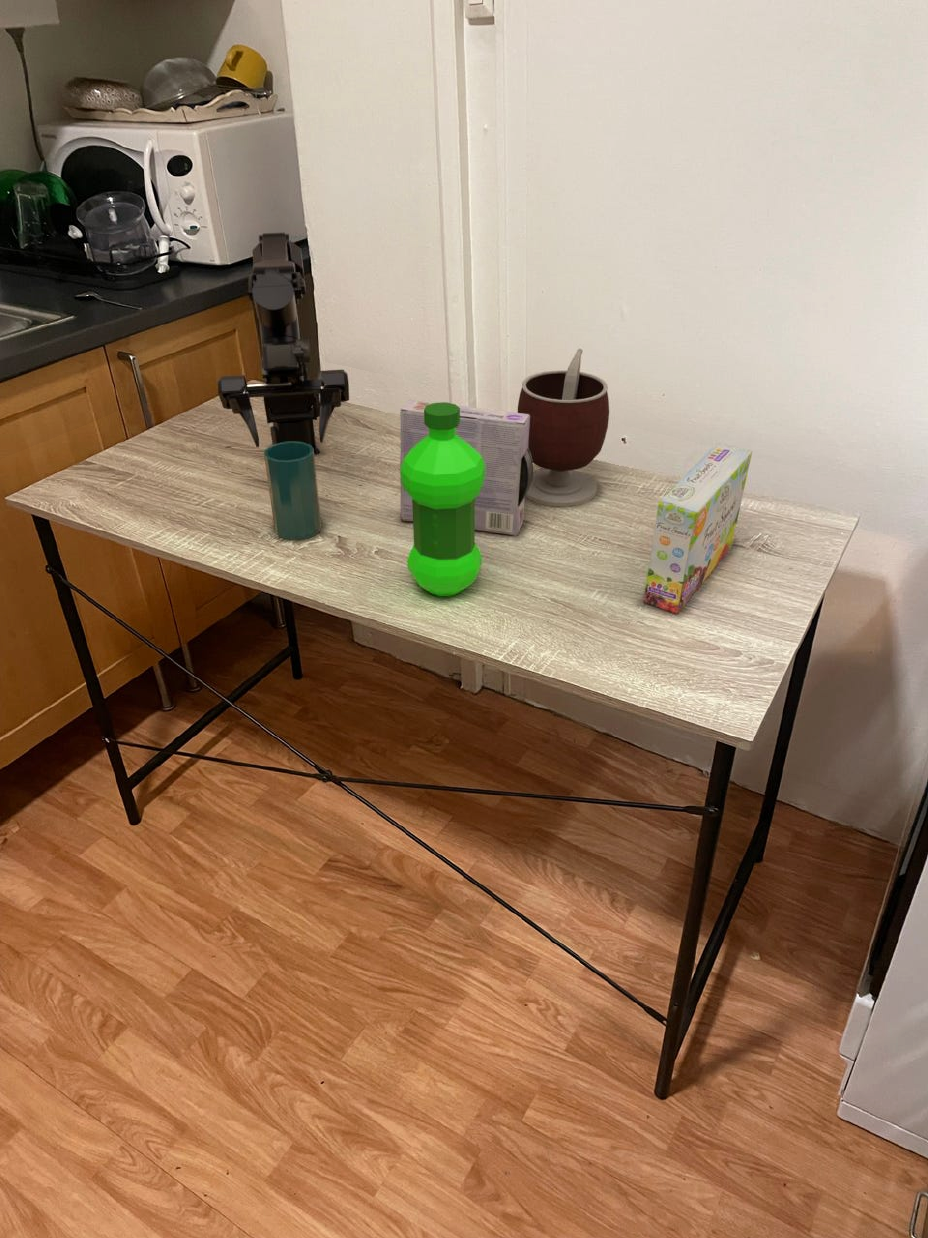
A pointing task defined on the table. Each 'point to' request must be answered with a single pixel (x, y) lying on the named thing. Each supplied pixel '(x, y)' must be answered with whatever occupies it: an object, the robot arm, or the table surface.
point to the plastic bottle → (443, 504)
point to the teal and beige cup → (293, 490)
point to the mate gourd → (564, 432)
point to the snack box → (695, 526)
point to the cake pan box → (503, 456)
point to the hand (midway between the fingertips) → (289, 443)
